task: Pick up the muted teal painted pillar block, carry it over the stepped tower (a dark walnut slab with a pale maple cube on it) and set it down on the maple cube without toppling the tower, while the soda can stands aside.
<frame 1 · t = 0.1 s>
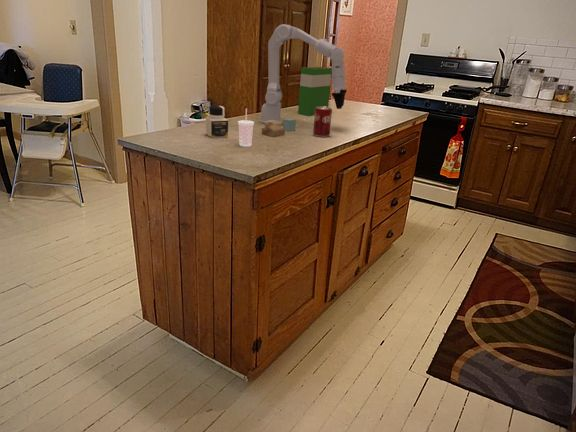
hand: (340, 107, 201), 11 cm above the counter, tool pointing down, fingers open, 7 cm apart
beverage cup: (245, 145, 169), on the counter
hardback book: (313, 114, 242), on the counter
medicine bottle: (217, 136, 180), on the counter
walnut slab: (273, 135, 189), on the counter
maple cube: (273, 128, 188), point 3 cm above the counter
soda can: (321, 135, 193), on the counter
teal block: (288, 130, 198), on the counter
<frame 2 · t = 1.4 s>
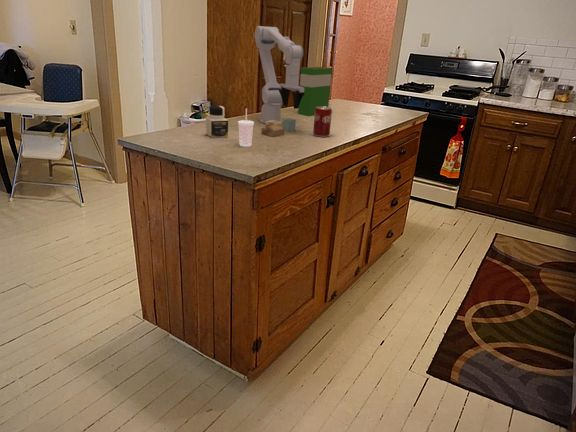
hand: (290, 107, 194), 10 cm above the counter, tool pointing down, fingers open, 7 cm apart
walnut slab: (272, 135, 189), on the counter, touching maple cube
maple cube: (273, 128, 187), point 3 cm above the counter, touching walnut slab
everything else where it was.
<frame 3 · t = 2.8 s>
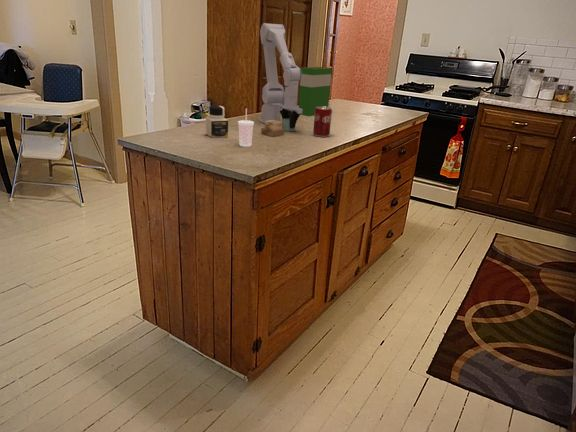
hand: (289, 127, 198), 1 cm above the counter, tool pointing down, fingers closed on teal block, 4 cm apart
teal block: (288, 130, 198), on the counter, touching gripper
everything else where it was.
when the fingers open (8 cm above the counter, at t = 5.3 s): teal block drops 1 cm, resting on maple cube.
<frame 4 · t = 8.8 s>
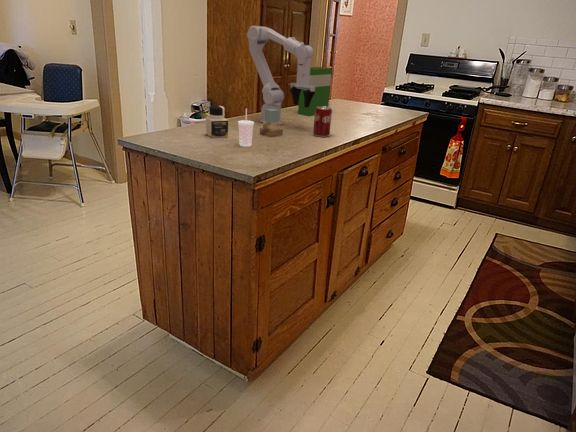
hand: (301, 105, 199), 10 cm above the counter, tool pointing down, fingers open, 7 cm apart
maple cube: (271, 128, 187), point 3 cm above the counter, touching teal block, walnut slab
teal block: (271, 121, 186), point 6 cm above the counter, touching maple cube
everything else where it was.
at the end: teal block 0.1 cm off-centre on the maple cube, point 3.0 cm above the maple cube's base; maple cube tilted 0°; teal block tilted 0° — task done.
